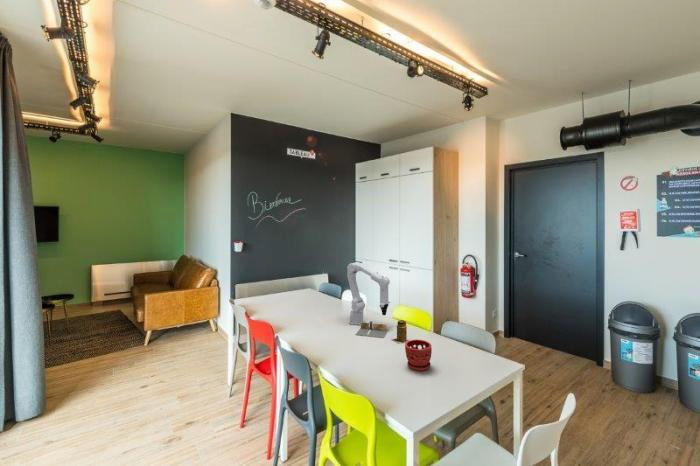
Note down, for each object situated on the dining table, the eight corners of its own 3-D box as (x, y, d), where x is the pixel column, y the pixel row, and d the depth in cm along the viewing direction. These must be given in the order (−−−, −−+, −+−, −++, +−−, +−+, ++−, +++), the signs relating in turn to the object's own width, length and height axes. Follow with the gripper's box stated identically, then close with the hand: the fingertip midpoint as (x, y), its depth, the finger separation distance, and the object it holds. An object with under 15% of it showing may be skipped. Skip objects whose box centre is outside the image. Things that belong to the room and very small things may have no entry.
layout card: (355, 335, 209) (355, 334, 209) (362, 326, 225) (362, 326, 225) (383, 338, 203) (383, 337, 203) (388, 329, 219) (388, 328, 219)
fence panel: (372, 329, 218) (372, 323, 217) (373, 329, 219) (373, 323, 218) (386, 331, 215) (386, 325, 215) (386, 330, 216) (386, 324, 216)
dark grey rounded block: (360, 328, 220) (360, 321, 219) (361, 328, 222) (361, 320, 221) (372, 330, 217) (372, 322, 217) (372, 329, 219) (372, 321, 219)
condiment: (409, 340, 199) (409, 321, 198) (399, 343, 194) (399, 324, 194) (401, 337, 205) (401, 318, 204) (391, 340, 200) (391, 321, 200)
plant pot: (412, 359, 173) (412, 337, 173) (435, 366, 165) (435, 343, 164) (400, 367, 163) (400, 344, 162) (424, 375, 155) (424, 351, 154)
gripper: (387, 298, 212) (387, 318, 213) (391, 293, 226) (391, 312, 227) (377, 297, 214) (377, 317, 215) (381, 292, 228) (381, 311, 229)
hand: (384, 314), depth 221 cm, fingers closed
